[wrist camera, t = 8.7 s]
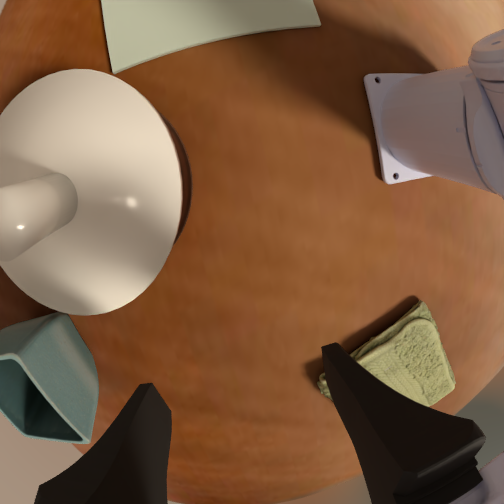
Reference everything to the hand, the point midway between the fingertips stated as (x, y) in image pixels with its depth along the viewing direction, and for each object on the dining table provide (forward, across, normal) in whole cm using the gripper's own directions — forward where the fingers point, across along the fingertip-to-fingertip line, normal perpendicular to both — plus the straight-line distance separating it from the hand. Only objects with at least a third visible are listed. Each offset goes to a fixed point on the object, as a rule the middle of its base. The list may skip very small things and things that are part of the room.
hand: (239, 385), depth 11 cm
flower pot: (+11, +17, +2) cm, 20 cm away
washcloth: (+11, -13, +17) cm, 24 cm away
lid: (+4, +6, -9) cm, 12 cm away
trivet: (+10, -3, -23) cm, 25 cm away
